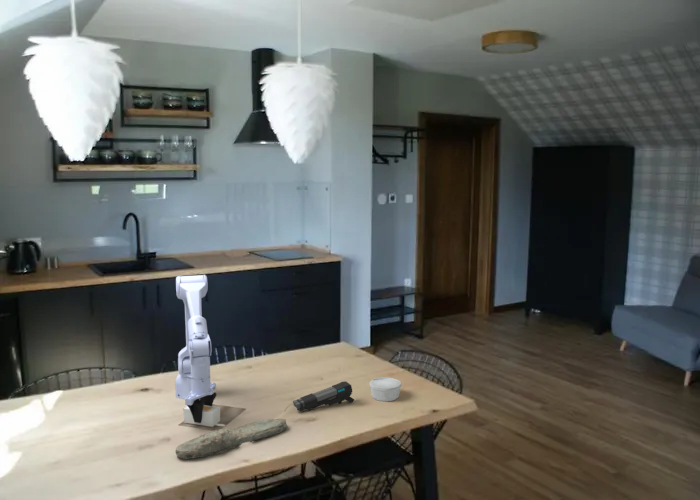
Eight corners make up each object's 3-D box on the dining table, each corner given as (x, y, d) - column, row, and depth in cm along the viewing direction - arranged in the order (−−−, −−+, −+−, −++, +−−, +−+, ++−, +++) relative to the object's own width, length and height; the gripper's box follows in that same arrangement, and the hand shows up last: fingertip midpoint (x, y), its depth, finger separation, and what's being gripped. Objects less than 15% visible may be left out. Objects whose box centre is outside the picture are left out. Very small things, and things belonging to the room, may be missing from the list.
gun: (357, 402, 204) (348, 377, 201) (306, 431, 196) (296, 405, 194) (351, 398, 208) (343, 373, 205) (301, 426, 201) (291, 400, 198)
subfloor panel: (178, 428, 183) (177, 424, 183) (208, 406, 201) (208, 403, 200) (218, 434, 179) (218, 431, 179) (246, 411, 196) (246, 408, 196)
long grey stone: (294, 437, 182) (277, 427, 189) (294, 419, 181) (277, 411, 189) (184, 465, 160) (169, 453, 168) (184, 446, 159) (169, 435, 167)
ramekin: (391, 389, 217) (391, 375, 217) (407, 399, 207) (407, 385, 207) (363, 394, 212) (363, 379, 212) (378, 405, 203) (378, 390, 202)
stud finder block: (184, 422, 185) (183, 408, 184) (192, 416, 189) (191, 403, 188) (212, 426, 182) (212, 412, 181) (220, 421, 186) (219, 406, 185)
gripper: (199, 386, 175) (200, 430, 177) (224, 370, 189) (225, 411, 191) (178, 383, 177) (180, 427, 179) (204, 368, 191) (205, 409, 193)
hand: (202, 419), depth 185 cm, fingers closed on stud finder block, 4 cm apart
